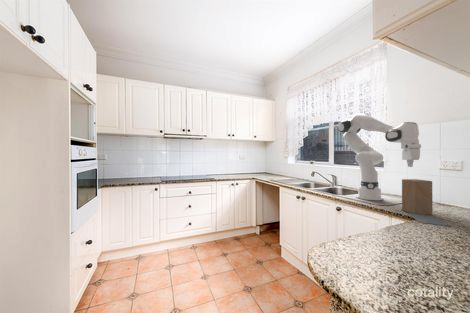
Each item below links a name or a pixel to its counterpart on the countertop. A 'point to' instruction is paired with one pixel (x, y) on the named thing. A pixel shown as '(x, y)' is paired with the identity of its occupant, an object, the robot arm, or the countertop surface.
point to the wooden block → (417, 196)
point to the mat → (429, 219)
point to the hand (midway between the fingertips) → (410, 166)
